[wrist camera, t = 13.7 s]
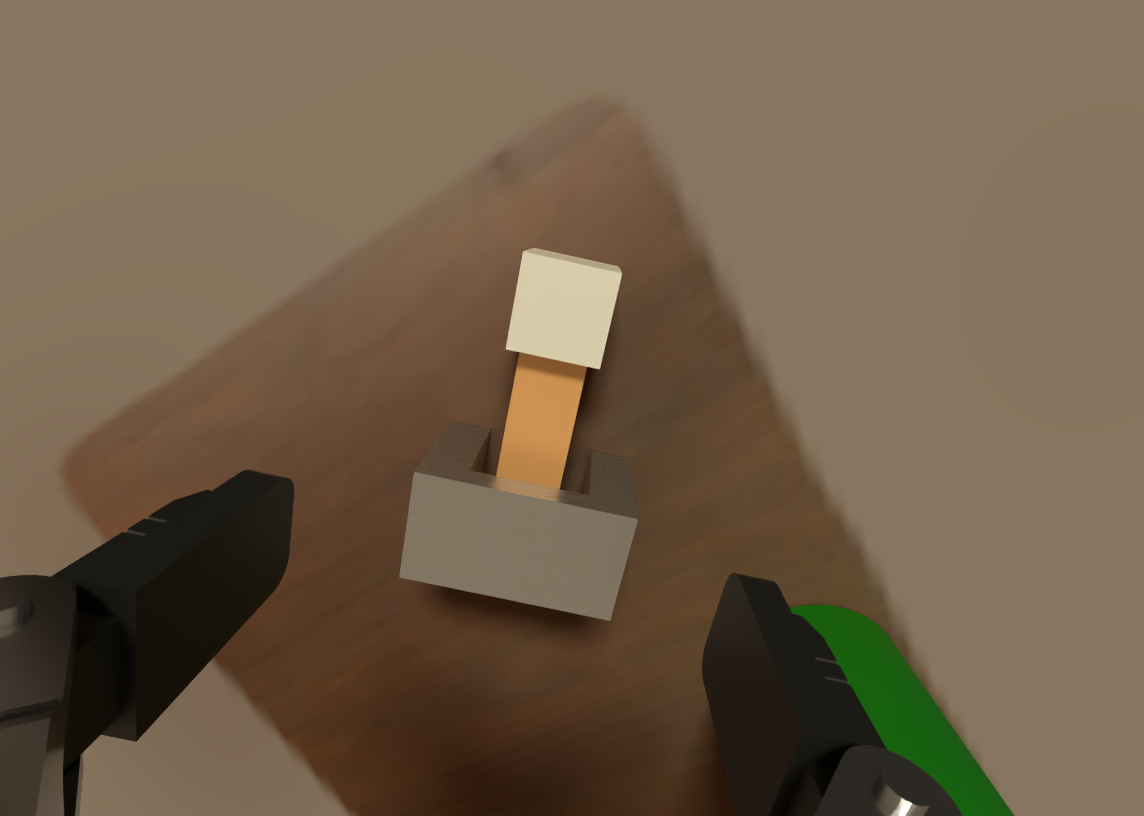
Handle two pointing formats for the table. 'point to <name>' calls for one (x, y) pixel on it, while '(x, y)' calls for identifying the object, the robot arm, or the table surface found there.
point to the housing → (519, 529)
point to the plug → (553, 358)
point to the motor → (903, 707)
